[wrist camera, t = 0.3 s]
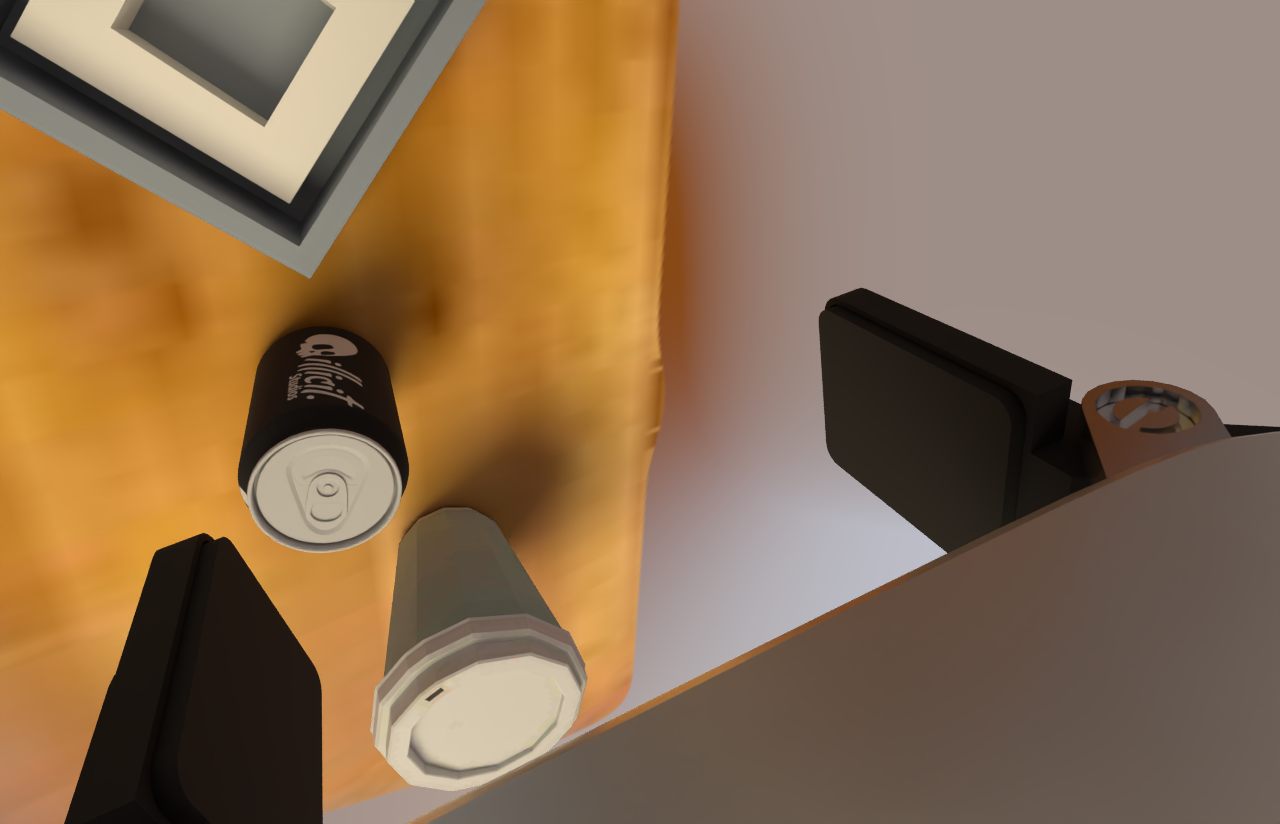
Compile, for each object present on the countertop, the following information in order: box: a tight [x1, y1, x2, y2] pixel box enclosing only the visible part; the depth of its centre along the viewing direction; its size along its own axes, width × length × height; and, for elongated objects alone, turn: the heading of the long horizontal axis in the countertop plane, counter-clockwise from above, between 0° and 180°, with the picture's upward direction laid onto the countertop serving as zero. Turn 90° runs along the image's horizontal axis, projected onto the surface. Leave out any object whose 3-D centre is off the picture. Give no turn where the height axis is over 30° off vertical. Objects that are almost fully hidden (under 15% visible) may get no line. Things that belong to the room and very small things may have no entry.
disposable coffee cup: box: [371, 507, 587, 791], centre depth 40 cm, size 11×11×15 cm
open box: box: [0, 0, 487, 279], centre depth 28 cm, size 14×14×6 cm
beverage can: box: [238, 327, 409, 553], centre depth 33 cm, size 7×7×12 cm
